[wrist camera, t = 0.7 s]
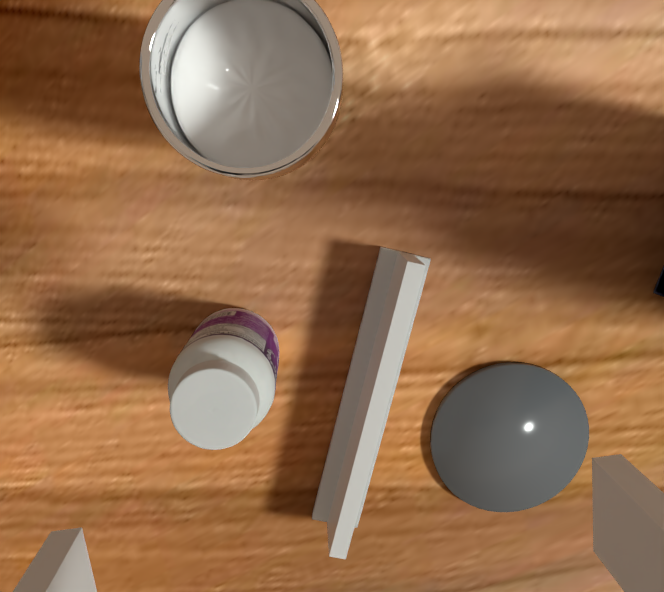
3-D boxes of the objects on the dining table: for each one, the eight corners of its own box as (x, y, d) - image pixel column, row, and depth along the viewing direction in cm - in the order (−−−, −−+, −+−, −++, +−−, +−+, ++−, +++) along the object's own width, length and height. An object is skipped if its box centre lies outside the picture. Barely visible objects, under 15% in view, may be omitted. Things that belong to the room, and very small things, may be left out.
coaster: (412, 491, 40) (414, 496, 39) (454, 347, 38) (456, 350, 37) (557, 519, 41) (560, 524, 40) (605, 380, 39) (610, 383, 38)
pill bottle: (266, 399, 38) (253, 478, 29) (182, 376, 38) (141, 449, 28) (291, 318, 37) (286, 373, 28) (205, 294, 37) (169, 340, 27)
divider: (311, 514, 40) (312, 553, 36) (380, 246, 36) (389, 256, 32) (356, 523, 40) (362, 562, 36) (429, 257, 37) (443, 269, 33)
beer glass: (213, 177, 35) (146, 191, 20) (199, 48, 34) (117, -39, 19) (334, 169, 35) (355, 177, 21) (326, 40, 34) (343, -51, 19)
